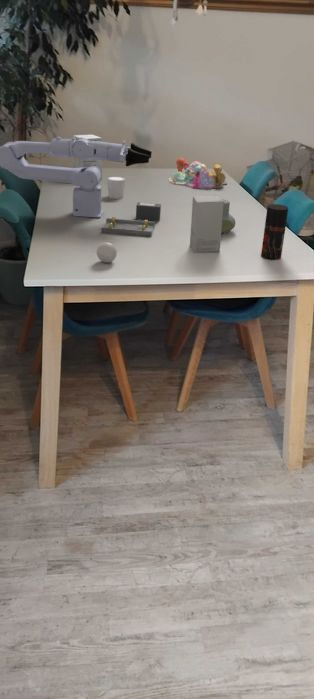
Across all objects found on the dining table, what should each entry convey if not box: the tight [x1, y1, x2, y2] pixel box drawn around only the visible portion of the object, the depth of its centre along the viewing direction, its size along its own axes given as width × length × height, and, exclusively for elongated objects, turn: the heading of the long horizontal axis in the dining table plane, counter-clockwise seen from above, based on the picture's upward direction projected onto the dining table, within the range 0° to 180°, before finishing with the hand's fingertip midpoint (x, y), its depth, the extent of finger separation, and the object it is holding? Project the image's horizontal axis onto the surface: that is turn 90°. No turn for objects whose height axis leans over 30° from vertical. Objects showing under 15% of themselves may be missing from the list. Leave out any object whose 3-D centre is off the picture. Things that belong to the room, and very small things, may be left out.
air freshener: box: [221, 198, 236, 235], centre depth 210 cm, size 11×8×10 cm
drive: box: [135, 202, 162, 222], centre depth 220 cm, size 8×4×5 cm, turn 85°
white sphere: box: [92, 241, 118, 264], centre depth 179 cm, size 8×6×6 cm
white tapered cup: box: [106, 176, 126, 200], centre depth 243 cm, size 7×7×7 cm
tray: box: [100, 216, 156, 237], centre depth 208 cm, size 16×11×3 cm
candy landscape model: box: [168, 157, 228, 190], centre depth 271 cm, size 25×24×9 cm
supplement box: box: [72, 134, 103, 181], centre depth 266 cm, size 10×9×17 cm
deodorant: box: [260, 203, 289, 261], centre depth 189 cm, size 6×6×15 cm
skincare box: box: [189, 195, 224, 253], centre depth 191 cm, size 8×7×16 cm
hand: (150, 157), depth 211 cm, fingers open, 7 cm apart
